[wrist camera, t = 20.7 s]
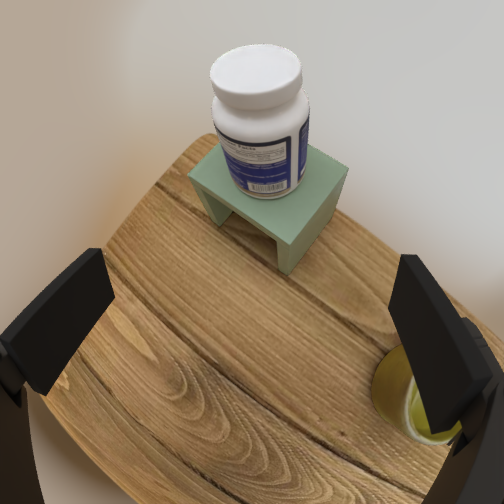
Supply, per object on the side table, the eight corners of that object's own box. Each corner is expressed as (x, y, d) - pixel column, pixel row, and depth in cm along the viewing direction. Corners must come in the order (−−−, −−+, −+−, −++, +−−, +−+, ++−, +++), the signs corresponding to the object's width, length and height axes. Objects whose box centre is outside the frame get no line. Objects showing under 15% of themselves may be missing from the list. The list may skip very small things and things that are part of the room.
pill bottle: (266, 130, 23) (255, 30, 14) (320, 168, 21) (336, 63, 12) (215, 172, 22) (178, 74, 13) (268, 217, 20) (256, 117, 11)
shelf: (211, 220, 31) (186, 174, 22) (258, 169, 32) (249, 113, 24) (287, 276, 28) (290, 245, 20) (332, 216, 30) (349, 167, 21)
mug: (332, 399, 22) (413, 406, 14) (390, 322, 27) (466, 297, 18) (396, 463, 21) (468, 477, 12) (441, 390, 26) (510, 383, 17)
